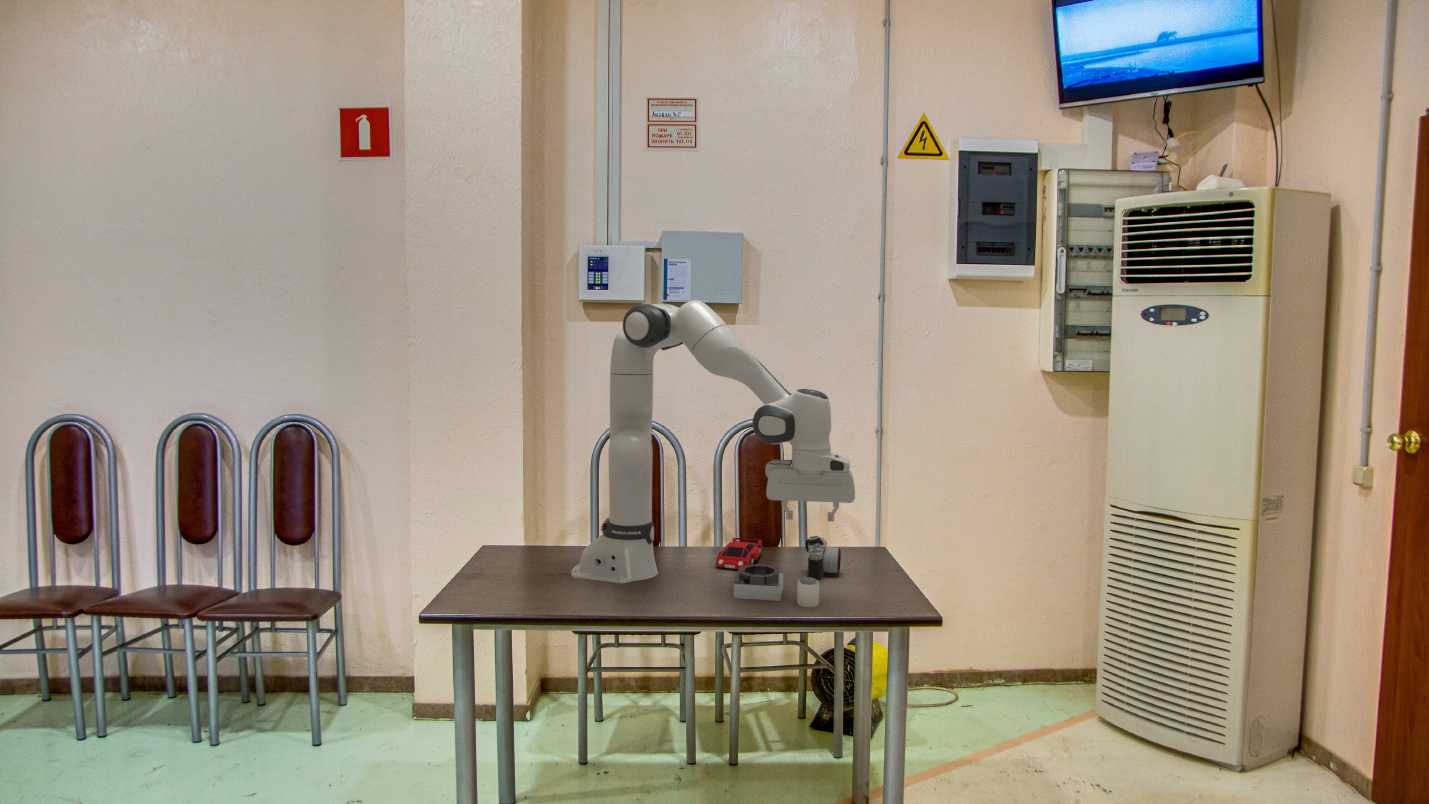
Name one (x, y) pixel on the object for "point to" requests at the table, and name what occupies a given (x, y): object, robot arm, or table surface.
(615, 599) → the table surface
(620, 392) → the robot arm
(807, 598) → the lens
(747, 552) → the toy car
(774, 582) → the grey ring holder
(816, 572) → the camera
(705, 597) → the table surface
